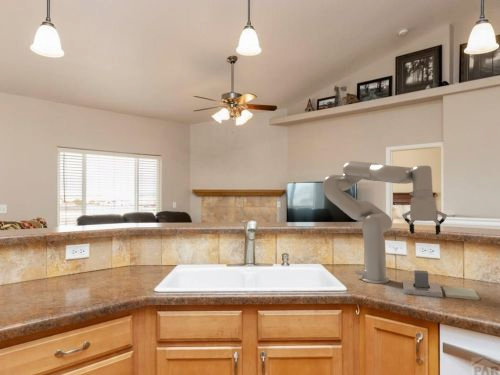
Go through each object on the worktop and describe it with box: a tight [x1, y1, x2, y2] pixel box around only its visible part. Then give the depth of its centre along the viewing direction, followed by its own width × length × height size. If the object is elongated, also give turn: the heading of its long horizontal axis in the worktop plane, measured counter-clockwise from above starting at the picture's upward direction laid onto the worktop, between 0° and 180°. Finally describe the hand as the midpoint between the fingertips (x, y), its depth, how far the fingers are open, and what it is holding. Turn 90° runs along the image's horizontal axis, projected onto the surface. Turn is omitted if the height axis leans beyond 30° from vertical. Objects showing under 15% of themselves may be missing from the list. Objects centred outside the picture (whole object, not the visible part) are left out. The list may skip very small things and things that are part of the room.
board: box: [442, 286, 480, 301], centre depth 137 cm, size 11×12×1 cm
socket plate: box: [402, 280, 443, 298], centre depth 143 cm, size 14×14×2 cm
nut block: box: [413, 269, 429, 288], centre depth 143 cm, size 5×5×8 cm
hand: (424, 234), depth 145 cm, fingers open, 9 cm apart
